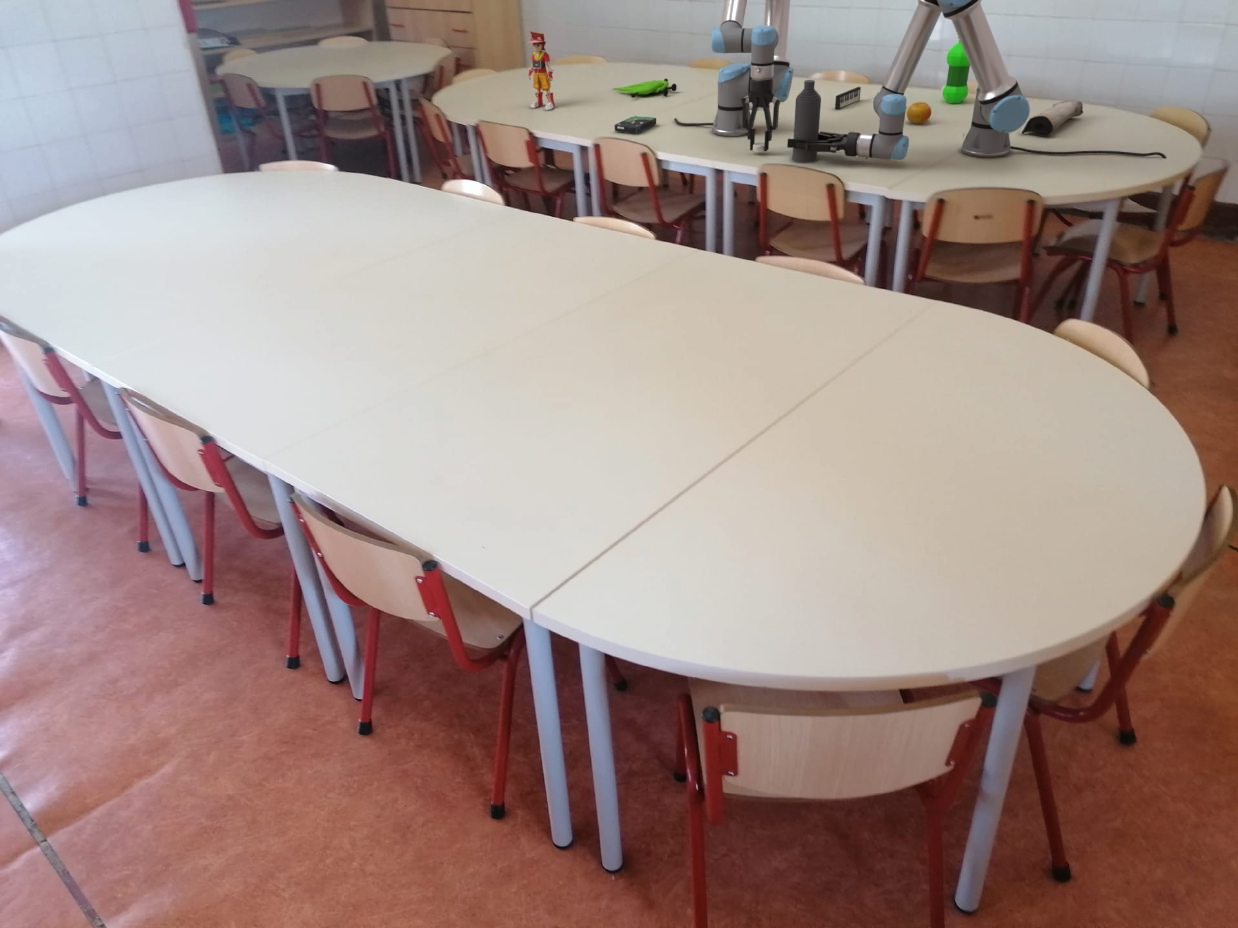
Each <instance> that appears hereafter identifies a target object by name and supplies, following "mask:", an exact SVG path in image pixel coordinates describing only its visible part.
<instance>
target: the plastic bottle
mask: <svg viewBox="0 0 1238 928" xmlns="http://www.w3.org/2000/svg"><path fill="white" fill-rule="evenodd" d="M957 39H958V42H957V43H956V44H954V45H953V46H952V47H951V48H950V49H949V50H948V52H947V54H946V63H947V64H948V69H947V70H948V71H947V76H946V77H947V78H946V84H945V85H944V87H943V90H942V97H943V99H944V100H945V101H946V102H947V103H948V104H960V103H961V102H963V101H964V100H966V98H967V96H968V95H969V85H968V79H969V73H970V68H971V66H970V63H969V61H968V59H967V56H966V54H965V51H964V49H963V46H962V44H961V42H960V39H959V37H958V36H957Z"/></svg>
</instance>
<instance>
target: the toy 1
mask: <svg viewBox="0 0 1238 928" xmlns="http://www.w3.org/2000/svg"><path fill="white" fill-rule="evenodd" d="M529 33H530V35H531V36H528V37H527V38H528V39H529V40H528V41H527V43H529V44H530V43H531V44H532V48H533V50H534V51H533V52H532V55H531V58H530V59H531V63H530V66H528V74H527V75H528V76H527V77H528V79H529V80H531V75H532V74H533V84H532V85H533V86H532V87H533V88H534V89H535V90H536V92H534V95H535V97H536V100H535V101H533V102H531V105H530V108H531V109H535V108H538V107H542V106H544V101H543V100H544V99H543V95H544V92H546V94H545V97H546V99H547V103H546V104H545V106H544V110H546V111H549V110H553V109H554V107H555V106H556V105H555V99H554V92H551V91H550V90H551V86H552V84H551V82H552V81H553V80H554V77H553V73H554V71H555V70H554V69H552V68H551V63H550V61H551V59H550V58H551V57H550V54H549V53H548V52H547V50H546V48H545V46H546V44H547V41H545V35H544V33H543V32H542V33H539V32H535V31H529Z"/></svg>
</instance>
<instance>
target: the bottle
mask: <svg viewBox="0 0 1238 928" xmlns="http://www.w3.org/2000/svg"><path fill="white" fill-rule="evenodd" d="M803 83H804V84H803V89H802V91H800V93H798V95H796V98H795V105H794V107H795V109H794V122H793V123H794V124H793V125H794V126H793V139H800V140H806V139H808V141H818V135H819V132H820V119H821V107H822V106H821V105H822V96H821V95H820V94H819V92H818V91H817V90H816V88H815V84H816V81H815V80H814V79H806V80H804V81H803ZM817 159H818V152H810V151H809V152H807V151H806V149H800V148H792V161H793V162H796V163H812V162H816V161H817Z"/></svg>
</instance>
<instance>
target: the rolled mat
mask: <svg viewBox="0 0 1238 928" xmlns="http://www.w3.org/2000/svg"><path fill="white" fill-rule="evenodd" d="M1083 114H1084V110H1083V102H1082V101H1081V100H1075V99H1074V100H1066V101H1065V100H1064V101H1059V102H1055V103H1053V105H1052V107H1050V108H1047V109H1046V110H1044V111H1041V112H1040V113H1037V114H1036V115H1034V116H1032V117H1031V118H1029V119H1028V121H1026V124H1025V126H1024V128H1023V130H1022V131H1021V135H1024V134H1026V133H1033V134H1034V135H1035V136H1038V137H1043V138H1044V137H1045V138H1046V137H1049V136H1050V135H1052V134H1053V133H1054V132H1055V131H1056V130H1057V129H1058V128H1059V127H1060V126H1061V125H1063V124H1064V123H1065V122H1066V121H1067V120H1069V119H1070V118H1075V117H1080V116H1082V115H1083Z"/></svg>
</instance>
